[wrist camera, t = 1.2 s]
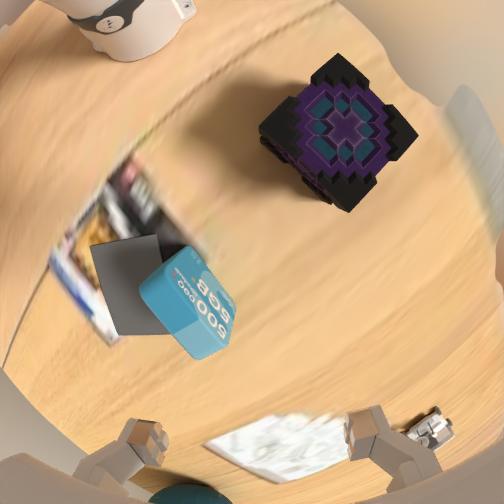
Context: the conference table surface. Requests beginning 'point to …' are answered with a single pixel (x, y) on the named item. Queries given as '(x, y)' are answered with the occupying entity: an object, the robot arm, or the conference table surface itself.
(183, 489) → the globe
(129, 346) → the conference table surface
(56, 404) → the conference table surface
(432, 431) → the toy car
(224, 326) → the light blue flat block
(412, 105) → the conference table surface
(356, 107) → the energy cube
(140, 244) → the mat
